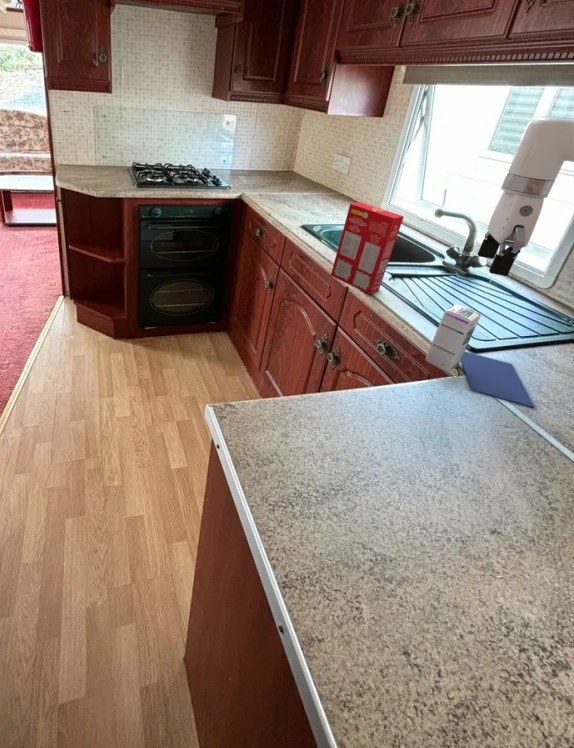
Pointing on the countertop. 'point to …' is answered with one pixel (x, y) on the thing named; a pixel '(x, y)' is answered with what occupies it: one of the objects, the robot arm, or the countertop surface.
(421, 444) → the countertop surface
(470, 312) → the syrup box
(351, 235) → the food packaging
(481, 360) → the cloth
